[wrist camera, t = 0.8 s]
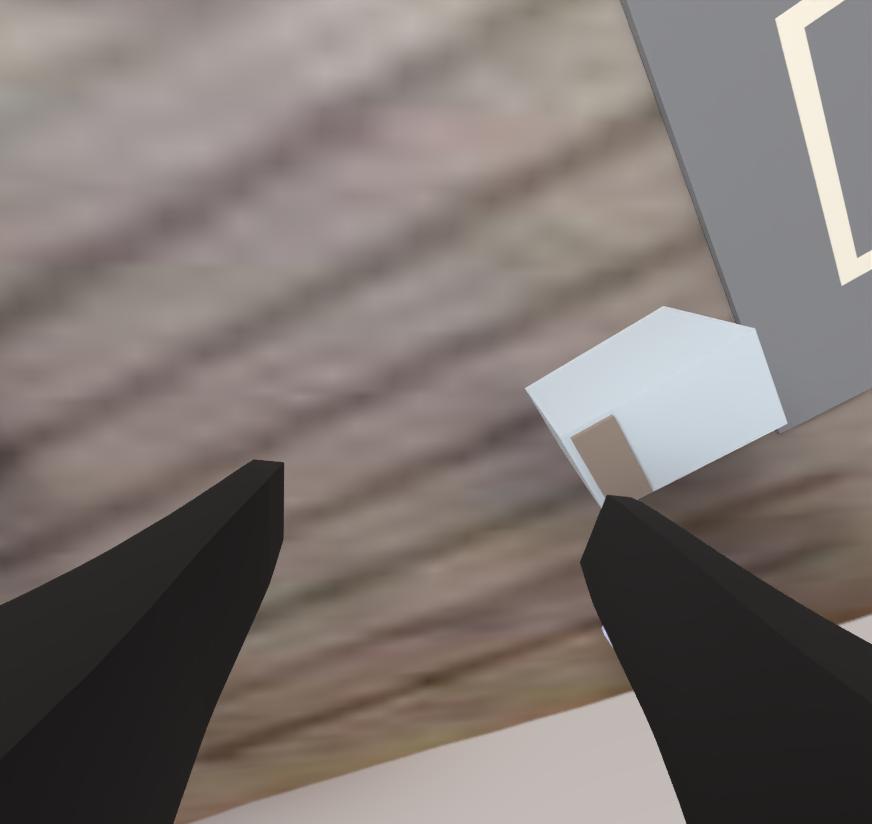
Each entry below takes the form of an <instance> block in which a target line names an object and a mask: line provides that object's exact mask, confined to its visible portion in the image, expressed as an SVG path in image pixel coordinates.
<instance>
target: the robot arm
mask: <svg viewBox="0 0 872 824" xmlns="http://www.w3.org/2000/svg"><path fill="white" fill-rule="evenodd" d="M283 534H284V462H274V461H264V460H252V461H251V462H249V463H247V464H246V465H244V466H243V467H241V468H240V469H238V470H237V471H235V472H234V473H232V474H231V475H229V476H228V477H226V478H225V479H223V480H222V481H220V482H219V483H217V484H216V485H214V486H213V487H211V488H210V489H208V490H207V491H205V492H204V493H202V494H201V495H199V496H198V497H196V498H194V499H193V500H191V501H190V502H188V503H187V504H185V505H184V506H182V507H181V508H179V509H178V510H176V511H174V512H173V513H171V514H170V515H168V516H166V517H165V518H163V519H161V520H160V521H158V522H156V523H154V524H153V525H151V526H149V527H148V528H146V529H144V530H143V531H141V532H139V533H138V534H136V535H134V536H132V537H131V538H129V539H127V540H126V541H124V542H122V543H121V544H119V545H117V546H116V547H114V548H112V549H110V550H109V551H107V552H105V553H103V554H101V555H99V556H98V557H96V558H94V559H92V560H90V561H88V562H86V563H85V564H83V565H81V566H79V567H77V568H75V569H73V570H71V571H69V572H67V573H65V574H63V575H61V576H59V577H57V578H55V579H53V580H51V581H49V582H47V583H45V584H43V585H41V586H39V587H37V588H35V589H33V590H32V591H30V592H27V593H25V594H23V595H21V596H19V597H17V598H15V599H13V600H11V601H9V602H7V603H4V604H2V605H0V824H173V823H174V820H175V817H176V814H177V811H178V808H179V805H180V802H181V799H182V796H183V794H184V791H185V788H186V785H187V782H188V779H189V777H190V774H191V771H192V768H193V765H194V762H195V759H196V757H197V754H198V751H199V748H200V745H201V742H202V740H203V737H204V734H205V731H206V728H207V726H208V723H209V721H210V718H211V716H212V714H213V711H214V709H215V706H216V704H217V701H218V699H219V696H220V694H221V692H222V690H223V688H224V685H225V683H226V681H227V679H228V676H229V674H230V672H231V670H232V667H233V665H234V663H235V661H236V659H237V656H238V654H239V652H240V650H241V647H242V645H243V643H244V641H245V638H246V636H247V634H248V632H249V630H250V627H251V625H252V623H253V621H254V618H255V616H256V614H257V612H258V609H259V607H260V605H261V602H262V600H263V598H264V596H265V593H266V591H267V589H268V586H269V584H270V581H271V578H272V575H273V572H274V569H275V565H276V562H277V559H278V556H279V552H280V549H281V546H282V542H283ZM580 564H581V567H582V570H583V574H584V577H585V580H586V584H587V587H588V590H589V593H590V596H591V599H592V602H593V605H594V607H595V609H596V611H597V614H598V616H599V618H600V620H601V622H602V625H603V626H602V631H603V633H604V635H605V637H606V638H607V640H608V641H609V642H610V644H611V645H612V647H613V648H614V650H615V652H616V654H617V657H618V659H619V661H620V663H621V665H622V667H623V669H624V671H625V673H626V676H627V678H628V680H629V682H630V684H631V686H632V688H633V690H634V692H635V694H636V697H637V699H638V701H639V703H640V705H641V707H642V709H643V711H644V714H645V716H646V718H647V721H648V723H649V725H650V727H651V730H652V732H653V734H654V737H655V739H656V742H657V744H658V747H659V749H660V752H661V755H662V757H663V760H664V763H665V766H666V768H667V771H668V774H669V776H670V779H671V782H672V784H673V787H674V790H675V792H676V795H677V798H678V800H679V803H680V806H681V809H682V812H683V815H684V818H685V820H686V824H872V644H870V643H868V642H867V641H865V640H863V639H861V638H859V637H858V636H856V635H854V634H852V633H850V632H849V631H846V630H845V629H843V628H841V627H840V626H838V625H836V624H834V623H832V622H831V621H829V620H827V619H825V618H823V617H822V616H820V615H818V614H817V613H815V612H813V611H811V610H810V609H808V608H806V607H805V606H803V605H801V604H800V603H798V602H796V601H795V600H793V599H791V598H790V597H788V596H787V595H785V594H783V593H782V592H780V591H778V590H777V589H775V588H774V587H772V586H770V585H769V584H767V583H765V582H764V581H762V580H761V579H759V578H757V577H756V576H754V575H753V574H751V573H750V572H748V571H746V570H745V569H743V568H742V567H740V566H739V565H737V564H736V563H734V562H733V561H731V560H729V559H728V558H726V557H725V556H723V555H722V554H720V553H719V552H717V551H716V550H714V549H713V548H711V547H710V546H708V545H707V544H705V543H704V542H702V541H701V540H699V539H698V538H696V537H695V536H693V535H692V534H690V533H689V532H687V531H686V530H684V529H683V528H681V527H680V526H678V525H677V524H675V523H674V522H672V521H671V520H669V519H668V518H666V517H664V516H663V515H661V514H660V513H658V512H657V511H655V510H653V509H652V508H650V507H648V506H647V505H645V504H643V503H642V502H640V501H638V500H636V499H634V498H632V497H625V496H615V495H607V496H606V498H605V501H604V503H603V506H602V508H601V511H600V513H599V516H598V518H597V521H596V523H595V526H594V528H593V531H592V533H591V536H590V538H589V541H588V543H587V546H586V549H585V551H584V554H583V556H582V559H581V561H580Z"/></svg>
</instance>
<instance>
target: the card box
mask: <svg viewBox="0 0 872 824" xmlns="http://www.w3.org/2000/svg"><path fill="white" fill-rule="evenodd" d="M525 389H526V391H527V392H528V394H529V396H530V397H531V399H532V401H533V403H534V404H535V406H536V408H537V409H538V411H539V413H540V414H541V416H542V418H543V419H544V421H545V423H546V424H547V426H548V428H549V429H550V431H551V433H552V434H553V436H554V438H555V439H556V441H557V443H558V444H559V446H560V448H561V449H562V451H563V453H564V454H565V456H566V457H567V459H568V460H569V461H570V463H571V464H572V466H573V467H574V469H575V470H576V472H577V473H578V475H579V476H580V478H581V479H582V481H583V482H584V484H585V485H586V487H587V488H588V490H589V491H590V493H591V494H592V496H593V497H594V499H595V500H596V502H597V503H598V505H599V506H600V508H602V506H603V503H604V501H605V498H606V496H607V495H615V496H625V497H632V498H634V499H636V500H638V499H640V498H642V497H644V496H646V495H648V494H650V493H652V492H654V491H656V490H658V489H659V488H661V487H663V486H665V485H667V484H669V483H671V482H673V481H675V480H677V479H679V478H681V477H683V476H685V475H687V474H689V473H691V472H693V471H695V470H697V469H699V468H701V467H703V466H705V465H707V464H709V463H711V462H713V461H715V460H717V459H719V458H721V457H723V456H725V455H727V454H729V453H731V452H733V451H735V450H737V449H738V448H740V447H742V446H744V445H746V444H748V443H750V442H752V441H754V440H756V439H758V438H760V437H762V436H764V435H766V434H768V433H770V432H772V431H774V430H776V429H778V428H780V427H782V426H784V425H786V424H788V423H787V420H786V417H785V414H784V412H783V409H782V406H781V403H780V400H779V397H778V394H777V391H776V388H775V385H774V382H773V379H772V376H771V373H770V371H769V368H768V365H767V362H766V359H765V356H764V353H763V350H762V347H761V344H760V341H759V338H758V335H757V333H756V330H755V328H751V327H747V326H743V325H739V324H735V323H731V322H727V321H723V320H719V319H714V318H710V317H706V316H702V315H698V314H694V313H690V312H686V311H682V310H678V309H674V308H669V307H665V306H663V307H661V308H659V309H658V310H656V311H654V312H653V313H651V314H649V315H647V316H646V317H644V318H642V319H641V320H639V321H637V322H636V323H634V324H632V325H631V326H629V327H627V328H626V329H624V330H622V331H621V332H619V333H617V334H615V335H614V336H612V337H610V338H609V339H607V340H605V341H604V342H602V343H600V344H599V345H597V346H595V347H594V348H592V349H590V350H589V351H587V352H585V353H584V354H582V355H580V356H578V357H577V358H575V359H573V360H572V361H570V362H568V363H567V364H565V365H563V366H562V367H560V368H558V369H557V370H555V371H553V372H552V373H550V374H548V375H546V376H545V377H543V378H541V379H540V380H538V381H536V382H535V383H533V384H531V385H530V386H528V387H526V388H525Z"/></svg>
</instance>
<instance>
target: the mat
mask: <svg viewBox="0 0 872 824" xmlns="http://www.w3.org/2000/svg"><path fill="white" fill-rule="evenodd" d="M621 3H622V5H623V8H624V11H625V14H626V17H627V19H628V22H629V25H630V28H631V31H632V33H633V36H634V39H635V42H636V45H637V47H638V50H639V53H640V56H641V58H642V61H643V64H644V67H645V70H646V72H647V75H648V78H649V81H650V84H651V86H652V89H653V92H654V95H655V98H656V100H657V103H658V106H659V109H660V112H661V114H662V117H663V120H664V123H665V125H666V128H667V131H668V134H669V137H670V139H671V142H672V145H673V148H674V151H675V153H676V156H677V159H678V162H679V165H680V167H681V170H682V173H683V176H684V179H685V181H686V184H687V187H688V190H689V192H690V195H691V198H692V201H693V204H694V206H695V209H696V212H697V215H698V218H699V220H700V223H701V226H702V229H703V232H704V234H705V237H706V240H707V243H708V246H709V248H710V251H711V254H712V257H713V259H714V262H715V265H716V268H717V271H718V273H719V276H720V279H721V282H722V285H723V287H724V290H725V293H726V296H727V299H728V301H729V304H730V307H731V310H732V313H733V315H734V318H735V321H736V324H739V325H743V326H747V327H751V328H755V330H756V333H757V335H758V338H759V341H760V344H761V347H762V350H763V353H764V356H765V359H766V362H767V365H768V368H769V371H770V373H771V376H772V379H773V382H774V385H775V388H776V391H777V394H778V397H779V400H780V403H781V406H782V409H783V412H784V414H785V417H786V420H787V423H788V424H786V425H784V426H782V427H780V428H778V429H776V430H775V432H777V433H779V434H781V433H783V432H785V431H787V430H789V429H791V428H793V427H795V426H797V425H799V424H801V423H803V422H805V421H807V420H809V419H811V418H813V417H815V416H817V415H819V414H821V413H823V412H825V411H827V410H829V409H831V408H833V407H835V406H837V405H839V404H841V403H843V402H845V401H847V400H849V399H851V398H853V397H855V396H857V395H859V394H861V393H863V392H865V391H867V390H869V389H871V388H872V0H621Z"/></svg>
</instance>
